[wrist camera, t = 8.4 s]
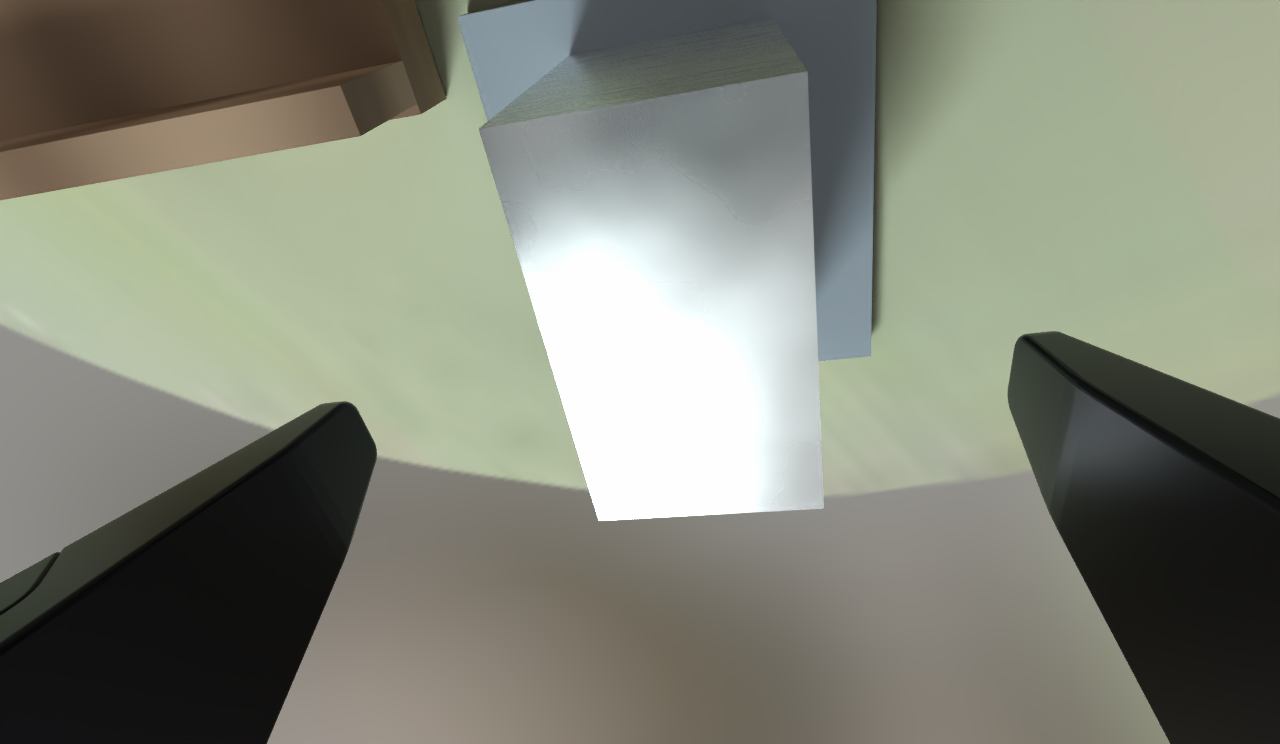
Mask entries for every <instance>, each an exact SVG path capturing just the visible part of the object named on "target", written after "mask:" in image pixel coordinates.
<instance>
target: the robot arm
mask: <svg viewBox="0 0 1280 744" xmlns="http://www.w3.org/2000/svg"><path fill="white" fill-rule="evenodd" d="M1008 403H1009V408H1010V411H1011V413H1012V416H1013V419H1014V421H1015V424H1016V427H1017V430H1018V432H1019V435H1020V438H1021V440H1022V443H1023V446H1024V448H1025V451H1026V454H1027V456H1028V459H1029V462H1030V464H1031V467H1032V470H1033V472H1034V475H1035V478H1036V480H1037V483H1038V486H1039V488H1040V491H1041V494H1042V496H1043V499H1044V501H1045V504H1046V506H1047V509H1048V511H1049V513H1050V515H1051V517H1052V519H1053V521H1054V523H1055V526H1056V527H1057V530H1058V531H1059V533H1060V535H1061V537H1062V539H1063V541H1064V543H1065V545H1066V547H1067V549H1068V550H1069V552H1070V554H1071V556H1072V558H1073V560H1074V562H1075V563H1076V566H1077V568H1078V569H1079V571H1080V573H1081V575H1082V577H1083V579H1084V581H1085V583H1086V585H1087V586H1088V588H1089V590H1090V592H1091V594H1092V596H1093V598H1094V600H1095V602H1096V604H1097V605H1098V607H1099V609H1100V611H1101V613H1102V615H1103V617H1104V619H1105V621H1106V623H1107V624H1108V626H1109V628H1110V630H1111V632H1112V634H1113V636H1114V638H1115V640H1116V642H1117V643H1118V645H1119V647H1120V649H1121V651H1122V653H1123V655H1124V657H1125V659H1126V661H1127V662H1128V664H1129V666H1130V668H1131V670H1132V672H1133V674H1134V676H1135V678H1136V679H1137V681H1138V683H1139V685H1140V687H1141V689H1142V691H1143V693H1144V695H1145V697H1146V699H1147V700H1148V702H1149V704H1150V706H1151V708H1152V710H1153V712H1154V714H1155V716H1156V717H1157V719H1158V721H1159V723H1160V725H1161V727H1162V729H1163V731H1164V732H1165V735H1166V736H1167V738H1168V740H1169V742H1170V744H1280V419H1279V418H1277V417H1274V416H1271V415H1269V414H1266V413H1264V412H1261V411H1259V410H1256V409H1254V408H1251V407H1249V406H1246V405H1244V404H1241V403H1239V402H1236V401H1233V400H1231V399H1228V398H1226V397H1223V396H1221V395H1218V394H1216V393H1213V392H1211V391H1208V390H1205V389H1203V388H1200V387H1198V386H1195V385H1193V384H1190V383H1188V382H1185V381H1183V380H1180V379H1177V378H1175V377H1172V376H1170V375H1167V374H1165V373H1162V372H1160V371H1157V370H1155V369H1152V368H1150V367H1147V366H1144V365H1142V364H1139V363H1137V362H1134V361H1132V360H1129V359H1127V358H1124V357H1122V356H1119V355H1117V354H1114V353H1111V352H1109V351H1106V350H1104V349H1101V348H1099V347H1096V346H1094V345H1091V344H1089V343H1086V342H1083V341H1081V340H1078V339H1076V338H1073V337H1071V336H1068V335H1066V334H1063V333H1061V332H1055V331H1051V332H1041V333H1031V334H1024V335H1022V336H1021V337H1019V338H1018V340H1017V342H1016V344H1015V348H1014V354H1013V360H1012V366H1011V373H1010V379H1009V386H1008ZM376 458H377V449H376V445H375V442H374V440H373V438H372V437H371V435H370V433H369V431H368V429H367V427H366V425H365V423H364V421H363V419H362V417H361V415H360V414H359V412H358V410H357V408H356V407H355V406H354V405H353V404H352V403H349V402H346V401H345V402H333V403H324V404H321V405H319V406H317V407H315V408H313V409H311V410H310V411H308V412H306V413H304V414H303V415H301V416H299V417H297V418H295V419H294V420H292V421H290V422H288V423H286V424H285V425H283V426H281V427H279V428H278V429H276V430H274V431H272V432H270V433H269V434H267V435H265V436H263V437H262V438H260V439H258V440H256V441H254V442H252V443H251V444H249V445H247V446H245V447H244V448H242V449H240V450H238V451H236V452H235V453H233V454H231V455H229V456H228V457H226V458H224V459H222V460H221V461H218V462H217V463H215V464H213V465H211V466H210V467H208V468H206V469H204V470H202V471H201V472H199V473H197V474H195V475H194V476H192V477H190V478H188V479H186V480H185V481H183V482H181V483H179V484H177V485H176V486H174V487H172V488H171V489H168V490H167V491H165V492H163V493H161V494H159V495H158V496H156V497H154V498H152V499H151V500H149V501H147V502H145V503H143V504H142V505H140V506H138V507H136V508H134V509H133V510H131V511H129V512H127V513H126V514H124V515H122V516H120V517H119V518H117V519H115V520H113V521H111V522H109V523H108V524H106V525H104V526H102V527H100V528H99V529H97V530H95V531H93V532H92V533H90V534H88V535H86V536H84V537H83V538H81V539H79V540H77V541H75V542H74V543H72V544H70V545H68V546H67V547H65V548H64V549H63V550H62V551H61V553H60V552H56V553H54V554H52V555H50V556H48V557H47V558H45V559H43V560H41V561H40V562H38V563H36V564H34V565H33V566H30V567H29V568H27V569H25V570H23V571H22V572H20V573H18V574H16V575H14V576H13V577H11V578H9V579H7V580H5V581H3V582H1V583H0V744H267V742H268V739H269V737H270V735H271V732H272V730H273V728H274V725H275V723H276V721H277V718H278V716H279V713H280V711H281V709H282V706H283V704H284V701H285V699H286V697H287V695H288V692H289V690H290V687H291V685H292V682H293V680H294V678H295V676H296V673H297V671H298V668H299V666H300V664H301V662H302V659H303V657H304V654H305V652H306V650H307V647H308V645H309V643H310V640H311V638H312V636H313V633H314V631H315V628H316V626H317V624H318V621H319V619H320V617H321V614H322V612H323V610H324V607H325V605H326V603H327V600H328V598H329V595H330V593H331V591H332V588H333V586H334V584H335V581H336V579H337V577H338V574H339V572H340V569H341V567H342V565H343V562H344V560H345V557H346V554H347V552H348V549H349V546H350V544H351V540H352V538H353V535H354V531H355V528H356V525H357V522H358V518H359V515H360V512H361V509H362V505H363V502H364V499H365V495H366V492H367V489H368V485H369V482H370V479H371V476H372V473H373V469H374V466H375V463H376Z"/></svg>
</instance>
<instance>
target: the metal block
mask: <svg viewBox="0 0 1280 744" xmlns="http://www.w3.org/2000/svg"><path fill="white" fill-rule="evenodd" d="M479 131H480V135H481V138H482V141H483V144H484V148H485V151H486V154H487V157H488V161H489V164H490V167H491V170H492V174H493V177H494V180H495V183H496V187H497V190H498V193H499V196H500V200H501V203H502V206H503V210H504V213H505V216H506V219H507V223H508V226H509V229H510V232H511V236H512V239H513V242H514V245H515V249H516V252H517V255H518V258H519V262H520V265H521V268H522V271H523V275H524V278H525V281H526V285H527V288H528V291H529V294H530V298H531V301H532V304H533V307H534V311H535V314H536V317H537V320H538V324H539V327H540V330H541V333H542V337H543V340H544V343H545V346H546V350H547V353H548V356H549V360H550V363H551V366H552V369H553V373H554V376H555V379H556V382H557V386H558V389H559V392H560V395H561V399H562V402H563V405H564V408H565V412H566V415H567V418H568V421H569V425H570V428H571V431H572V434H573V438H574V441H575V444H576V448H577V451H578V454H579V457H580V461H581V464H582V467H583V470H584V474H585V477H586V480H587V483H588V487H589V490H590V493H591V496H592V500H593V503H594V506H595V509H596V513H597V516H598V519H599V521H602V520H620V519H640V518H657V517H676V516H693V515H712V514H730V513H749V512H768V511H785V510H802V509H803V510H804V509H823V508H824V503H823V475H822V448H821V421H820V394H819V367H818V340H817V313H816V286H815V259H814V232H813V205H812V178H811V151H810V124H809V97H808V71H807V70H806V68H805V67H804V65H803V64H802V62H801V61H800V59H799V58H798V56H797V54H796V53H795V51H794V50H793V48H792V47H791V45H790V44H789V42H788V41H787V39H786V38H785V36H784V35H783V33H782V32H781V30H780V29H779V27H778V26H777V24H776V23H775V21H774V20H773V18H772V17H771V16H768V17H763V18H758V19H753V20H748V21H742V22H737V23H732V24H727V25H722V26H716V27H711V28H706V29H701V30H696V31H690V32H685V33H680V34H675V35H670V36H664V37H659V38H654V39H649V40H644V41H638V42H633V43H628V44H623V45H618V46H613V47H607V48H602V49H597V50H592V51H587V52H581V53H576V54H571V55H569V56H567V57H566V58H565V59H564V60H563V61H561V62H560V63H559V64H558V65H556V66H555V67H554V68H553V69H552V70H550V71H549V72H548V73H547V74H545V75H544V76H543V77H542V78H540V79H539V80H538V81H537V82H536V83H534V84H533V85H532V86H531V87H529V88H528V89H527V90H526V91H525V92H523V93H522V94H521V95H520V96H518V97H517V98H516V99H515V100H514V101H512V102H511V103H510V104H509V105H507V106H506V107H505V108H504V109H503V110H501V111H500V112H499V113H498V114H496V115H495V116H494V117H493V118H492V119H490V120H489V121H488V122H487V123H485V124H484V125H483V126H482V127H481V128H479Z"/></svg>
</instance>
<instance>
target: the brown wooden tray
mask: <svg viewBox="0 0 1280 744" xmlns="http://www.w3.org/2000/svg"><path fill="white" fill-rule="evenodd" d="M445 99H446V95H445V92H444V89H443V86H442V83H441V80H440V77H439V74H438V71H437V68H436V65H435V62H434V58H433V55H432V52H431V49H430V46H429V43H428V40H427V37H426V34H425V31H424V28H423V24H422V21H421V18H420V15H419V12H418V9H417V6H416V3H415V0H0V200H5V199H10V198H16V197H21V196H27V195H32V194H38V193H44V192H49V191H55V190H60V189H66V188H72V187H77V186H83V185H88V184H94V183H100V182H105V181H111V180H116V179H122V178H128V177H133V176H139V175H144V174H150V173H156V172H161V171H167V170H172V169H178V168H184V167H189V166H195V165H200V164H206V163H212V162H217V161H223V160H228V159H234V158H240V157H245V156H251V155H256V154H262V153H268V152H273V151H279V150H284V149H290V148H296V147H301V146H307V145H312V144H318V143H324V142H329V141H335V140H340V139H346V138H352V137H357V136H361V135H363V134H365V133H367V132H368V131H370V130H372V129H374V128H375V127H377V126H379V125H381V124H382V123H384V122H386V121H388V120H391V119H397V118H402V117H408V116H413V115H419V114H422V113H424V112H425V111H427V110H429V109H430V108H432V107H433V106H435V105H437V104H438V103H440V102H442V101H443V100H445Z"/></svg>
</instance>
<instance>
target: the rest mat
mask: <svg viewBox="0 0 1280 744" xmlns="http://www.w3.org/2000/svg"><path fill="white" fill-rule="evenodd" d="M768 16H771V17H772V18H773V20H774V21H775V23H776V24H777V26H778V27H779V29H780V30H781V32H782V33H783V35H784V36H785V38H786V39H787V41H788V42H789V44H790V45H791V47H792V48H793V50H794V51H795V53H796V54H797V56H798V58H799V59H800V61H801V62H802V64H803V65H804V67H805V68H806V70H807V71H808V97H809V124H810V151H811V178H812V205H813V232H814V259H815V286H816V313H817V340H818V361H825V360H835V359H846V358H856V357H867V356H871V317H872V258H873V198H874V139H875V80H876V20H877V0H530V1H525V2H520V3H516V4H511V5H506V6H501V7H497V8H492V9H487V10H482V11H477V12H473V13H468V14H464V15H461V16H458V17H457V19H458V22H459V26H460V29H461V33H462V36H463V39H464V43H465V46H466V49H467V53H468V56H469V60H470V63H471V66H472V70H473V73H474V76H475V80H476V83H477V87H478V90H479V93H480V97H481V100H482V103H483V107H484V110H485V113H486V117H487V120H488V121H489V120H490V119H492V118H493V117H494V116H495V115H496V114H498V113H499V112H500V111H501V110H503V109H504V108H505V107H506V106H507V105H509V104H510V103H511V102H512V101H514V100H515V99H516V98H517V97H518V96H520V95H521V94H522V93H523V92H525V91H526V90H527V89H528V88H529V87H531V86H532V85H533V84H534V83H536V82H537V81H538V80H539V79H540V78H542V77H543V76H544V75H545V74H547V73H548V72H549V71H550V70H552V69H553V68H554V67H555V66H556V65H558V64H559V63H560V62H561V61H563V60H564V59H565V58H566V57H567V56H569V55H571V54H576V53H581V52H587V51H592V50H597V49H602V48H607V47H613V46H618V45H623V44H628V43H633V42H638V41H644V40H649V39H654V38H659V37H664V36H670V35H675V34H680V33H685V32H690V31H696V30H701V29H706V28H711V27H716V26H722V25H727V24H732V23H737V22H742V21H748V20H753V19H758V18H763V17H768Z"/></svg>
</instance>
